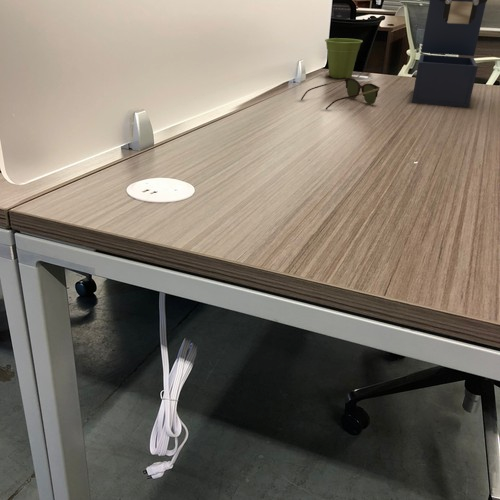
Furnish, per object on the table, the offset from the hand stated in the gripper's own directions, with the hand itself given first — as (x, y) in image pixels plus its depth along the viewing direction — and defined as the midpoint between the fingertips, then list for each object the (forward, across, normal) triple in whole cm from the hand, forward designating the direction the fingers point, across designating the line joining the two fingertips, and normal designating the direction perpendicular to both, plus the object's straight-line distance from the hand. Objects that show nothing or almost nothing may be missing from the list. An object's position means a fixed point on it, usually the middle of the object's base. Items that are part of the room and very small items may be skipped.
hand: (457, 21), depth 124 cm
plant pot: (+20, -31, +28) cm, 46 cm away
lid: (0, 0, +13) cm, 13 cm away
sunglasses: (+20, -26, -13) cm, 35 cm away
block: (0, 0, 0) cm, 0 cm away
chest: (+19, 0, +5) cm, 20 cm away
